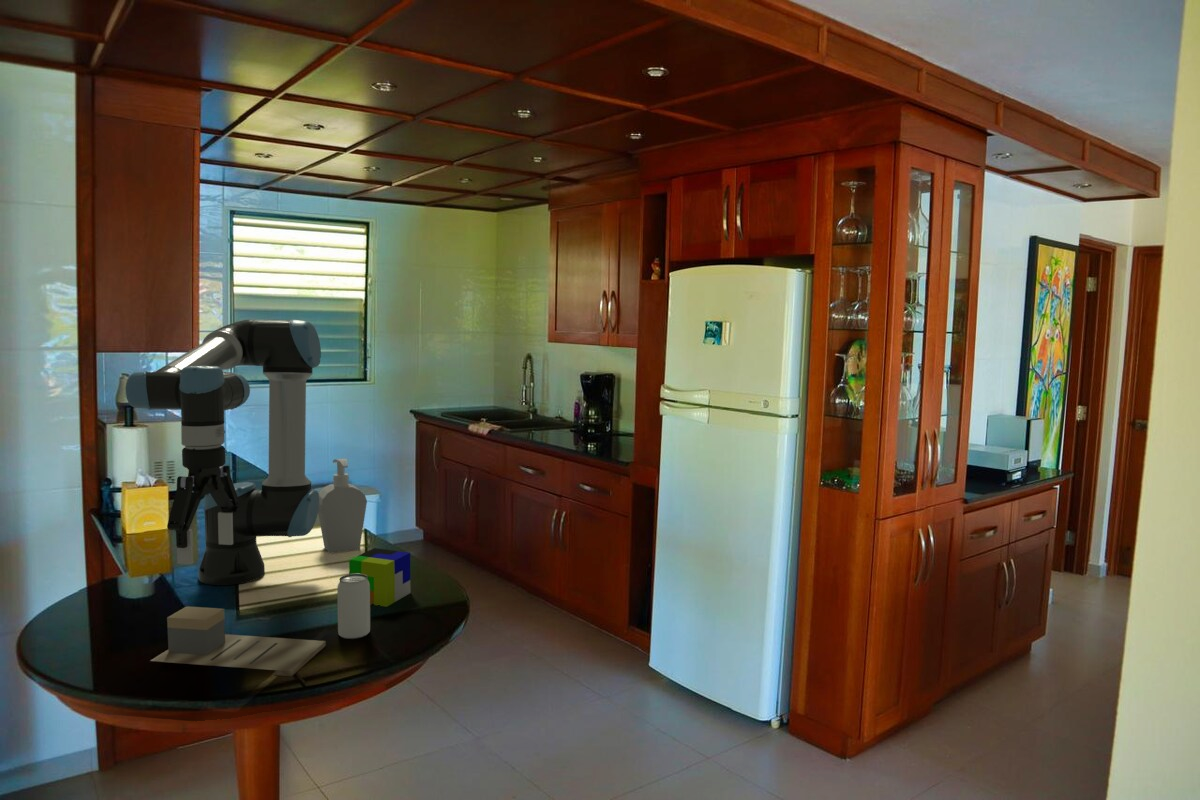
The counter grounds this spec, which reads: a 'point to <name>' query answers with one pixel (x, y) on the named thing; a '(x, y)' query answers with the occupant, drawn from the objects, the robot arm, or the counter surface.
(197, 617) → the block
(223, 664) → the board
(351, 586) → the can
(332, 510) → the soap bottle
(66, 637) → the counter surface
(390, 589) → the puzzle toy
